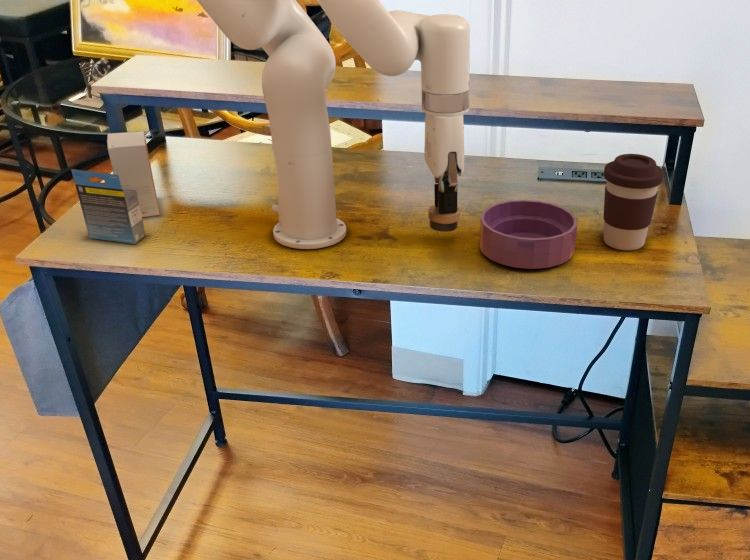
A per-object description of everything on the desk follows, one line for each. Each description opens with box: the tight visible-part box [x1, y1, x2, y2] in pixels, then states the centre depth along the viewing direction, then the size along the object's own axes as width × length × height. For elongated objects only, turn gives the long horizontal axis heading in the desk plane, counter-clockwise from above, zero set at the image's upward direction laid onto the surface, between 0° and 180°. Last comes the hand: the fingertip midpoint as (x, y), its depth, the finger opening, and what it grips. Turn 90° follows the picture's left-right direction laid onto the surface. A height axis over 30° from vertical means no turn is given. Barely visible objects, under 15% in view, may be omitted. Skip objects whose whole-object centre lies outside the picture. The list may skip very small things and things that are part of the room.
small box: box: [106, 131, 160, 218], centre depth 149 cm, size 8×6×13 cm
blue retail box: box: [70, 168, 146, 245], centre depth 139 cm, size 9×4×12 cm, turn 77°
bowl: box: [478, 199, 578, 270], centre depth 142 cm, size 16×16×6 cm
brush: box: [427, 171, 461, 233], centre depth 141 cm, size 5×5×11 cm
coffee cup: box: [602, 153, 665, 252], centre depth 143 cm, size 10×10×15 cm
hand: (445, 208), depth 143 cm, fingers closed on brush
